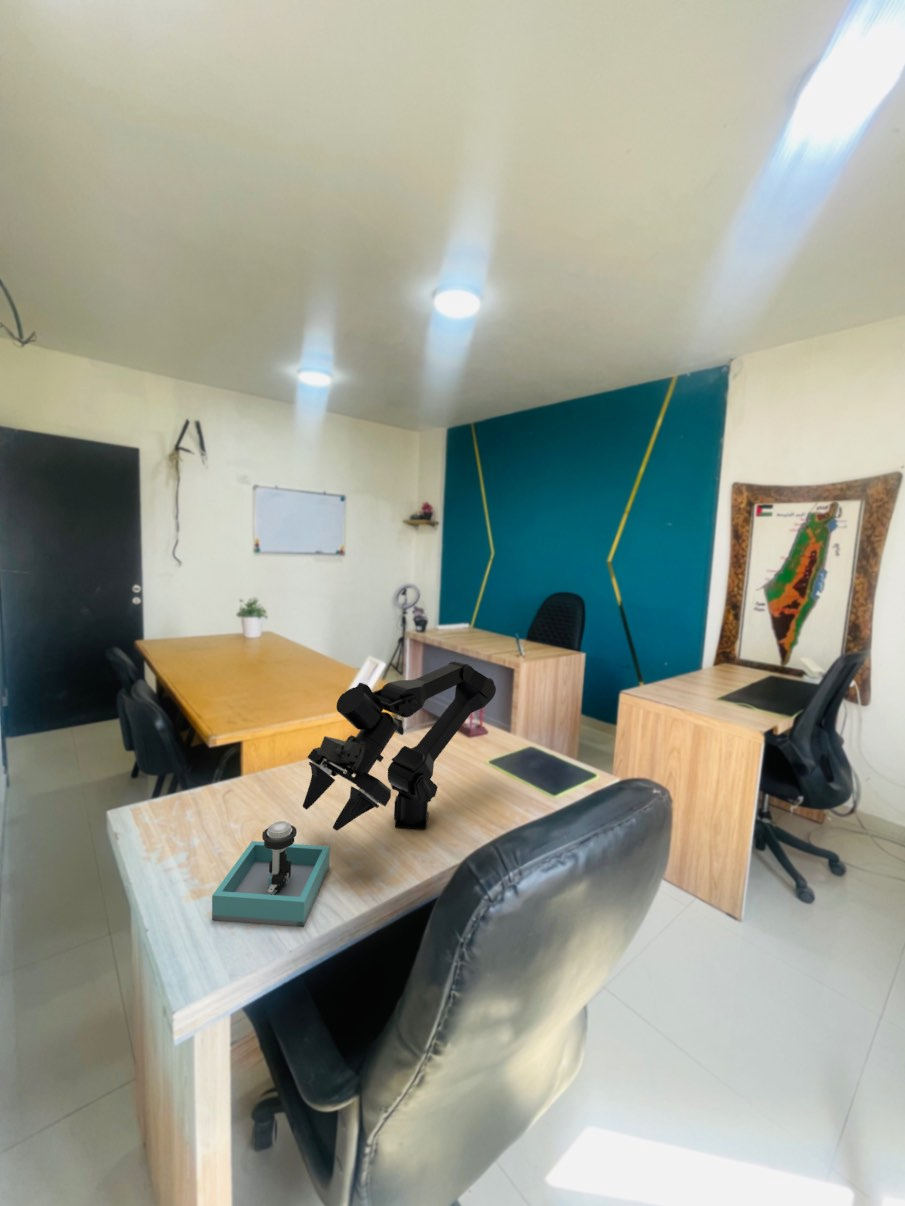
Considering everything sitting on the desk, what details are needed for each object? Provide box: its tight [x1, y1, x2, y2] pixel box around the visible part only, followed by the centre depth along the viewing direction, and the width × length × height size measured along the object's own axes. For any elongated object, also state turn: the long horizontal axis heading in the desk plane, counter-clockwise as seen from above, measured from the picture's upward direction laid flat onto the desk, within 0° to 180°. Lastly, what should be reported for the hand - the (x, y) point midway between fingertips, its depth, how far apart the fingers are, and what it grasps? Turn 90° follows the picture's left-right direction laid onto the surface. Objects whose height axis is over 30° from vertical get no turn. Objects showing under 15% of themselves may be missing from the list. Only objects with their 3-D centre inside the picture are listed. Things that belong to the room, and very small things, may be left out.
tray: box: [211, 840, 331, 927], centre depth 82 cm, size 14×14×4 cm
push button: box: [261, 820, 298, 895], centre depth 82 cm, size 7×5×10 cm
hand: (319, 818), depth 87 cm, fingers open, 9 cm apart
